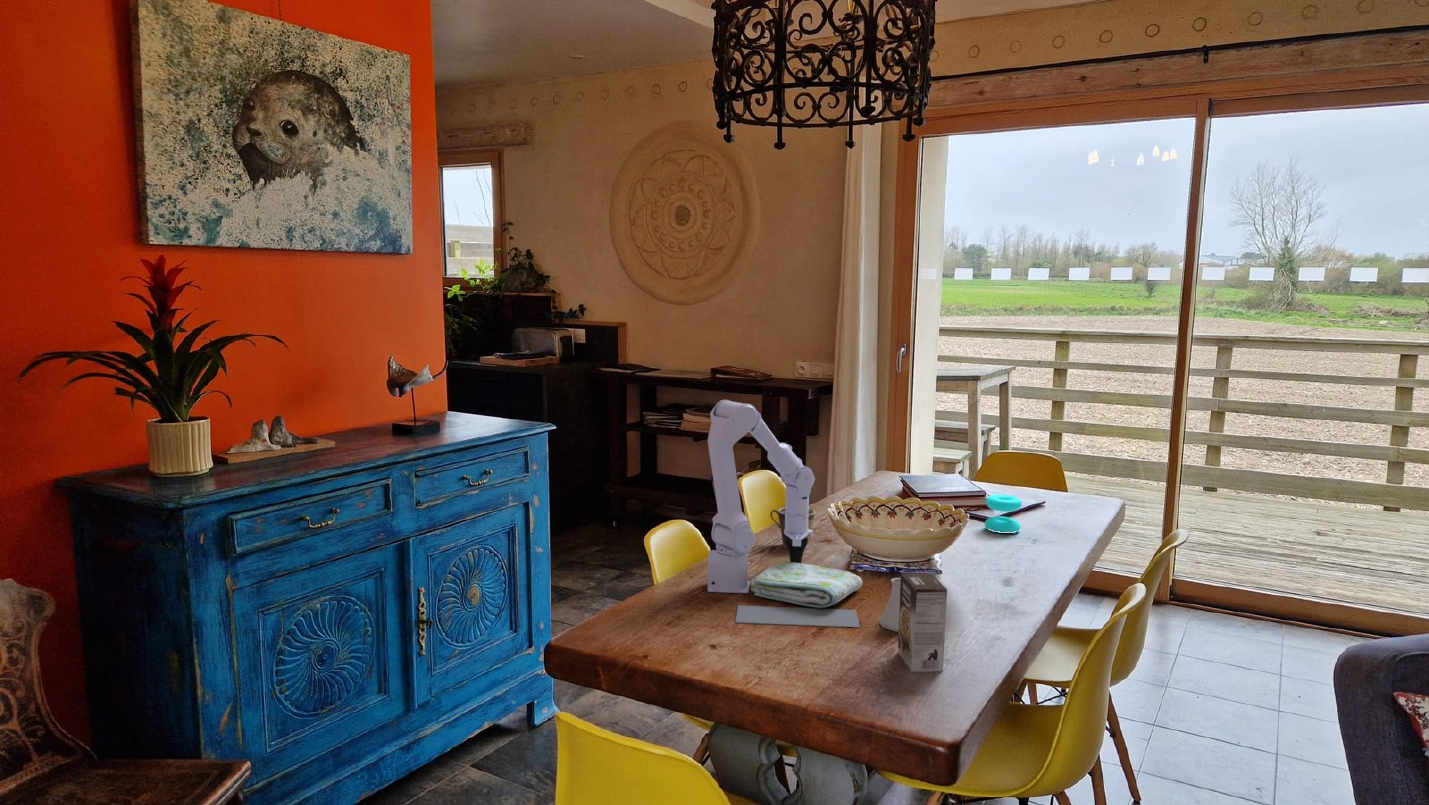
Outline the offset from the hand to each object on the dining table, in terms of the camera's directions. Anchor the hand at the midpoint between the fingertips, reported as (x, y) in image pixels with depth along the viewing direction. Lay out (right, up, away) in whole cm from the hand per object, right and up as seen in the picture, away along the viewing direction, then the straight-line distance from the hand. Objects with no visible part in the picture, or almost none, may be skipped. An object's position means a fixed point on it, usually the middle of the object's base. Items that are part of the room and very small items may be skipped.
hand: (795, 566), depth 223 cm
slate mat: (-2, -6, -28) cm, 29 cm away
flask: (+19, -7, -33) cm, 38 cm away
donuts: (+64, +3, +42) cm, 77 cm away
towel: (+1, -4, -14) cm, 14 cm away
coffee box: (+19, -9, -51) cm, 55 cm away
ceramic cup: (+1, +1, +24) cm, 24 cm away
